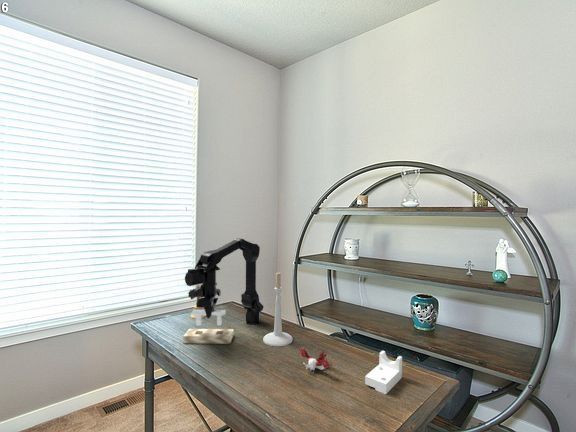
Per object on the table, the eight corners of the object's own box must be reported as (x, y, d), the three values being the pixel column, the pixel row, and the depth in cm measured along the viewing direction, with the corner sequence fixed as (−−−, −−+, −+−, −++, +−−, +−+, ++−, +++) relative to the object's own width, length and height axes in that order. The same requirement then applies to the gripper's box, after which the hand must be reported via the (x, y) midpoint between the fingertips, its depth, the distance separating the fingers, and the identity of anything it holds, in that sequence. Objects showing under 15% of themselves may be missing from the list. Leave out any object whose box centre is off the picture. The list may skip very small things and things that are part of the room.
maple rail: (233, 335, 144) (233, 329, 144) (230, 343, 136) (230, 336, 136) (189, 335, 144) (189, 328, 144) (183, 343, 136) (183, 336, 136)
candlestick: (259, 344, 135) (259, 274, 134) (268, 332, 148) (268, 268, 147) (288, 348, 132) (289, 275, 131) (295, 335, 145) (295, 269, 144)
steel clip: (225, 323, 141) (225, 309, 141) (224, 325, 139) (224, 311, 139) (194, 323, 141) (193, 309, 141) (192, 325, 139) (192, 311, 139)
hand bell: (209, 315, 171) (209, 285, 170) (197, 319, 164) (197, 288, 163) (198, 312, 175) (198, 283, 174) (186, 316, 168) (186, 286, 167)
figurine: (343, 371, 115) (343, 352, 114) (321, 383, 107) (322, 363, 106) (312, 356, 126) (313, 339, 125) (291, 366, 118) (291, 348, 117)
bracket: (382, 371, 115) (382, 350, 115) (401, 378, 110) (402, 356, 110) (365, 386, 105) (365, 364, 105) (385, 395, 101) (386, 371, 100)
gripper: (196, 276, 149) (197, 309, 149) (183, 287, 130) (183, 325, 131) (220, 276, 149) (221, 309, 149) (211, 287, 130) (211, 325, 131)
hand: (209, 317), depth 140 cm, fingers closed on steel clip, 2 cm apart
